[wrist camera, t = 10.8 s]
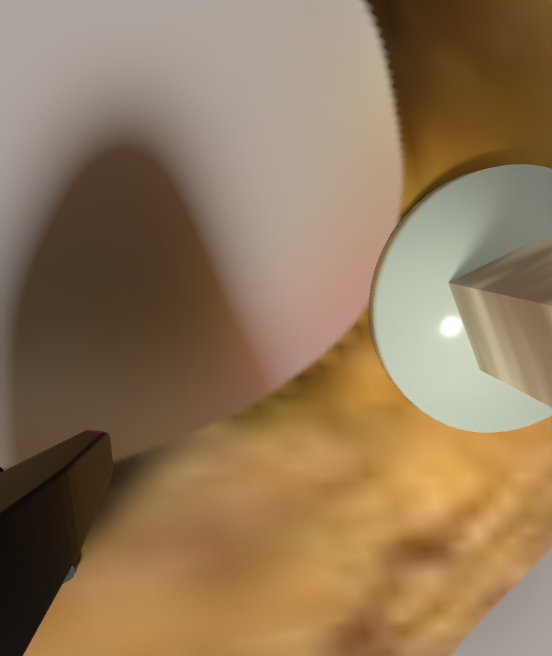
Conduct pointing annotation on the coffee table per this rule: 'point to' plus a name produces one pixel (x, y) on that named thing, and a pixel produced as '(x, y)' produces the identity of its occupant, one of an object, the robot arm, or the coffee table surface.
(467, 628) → the coffee table surface
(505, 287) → the birch block
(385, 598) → the coffee table surface
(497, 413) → the saucer
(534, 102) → the coffee table surface
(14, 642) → the robot arm
